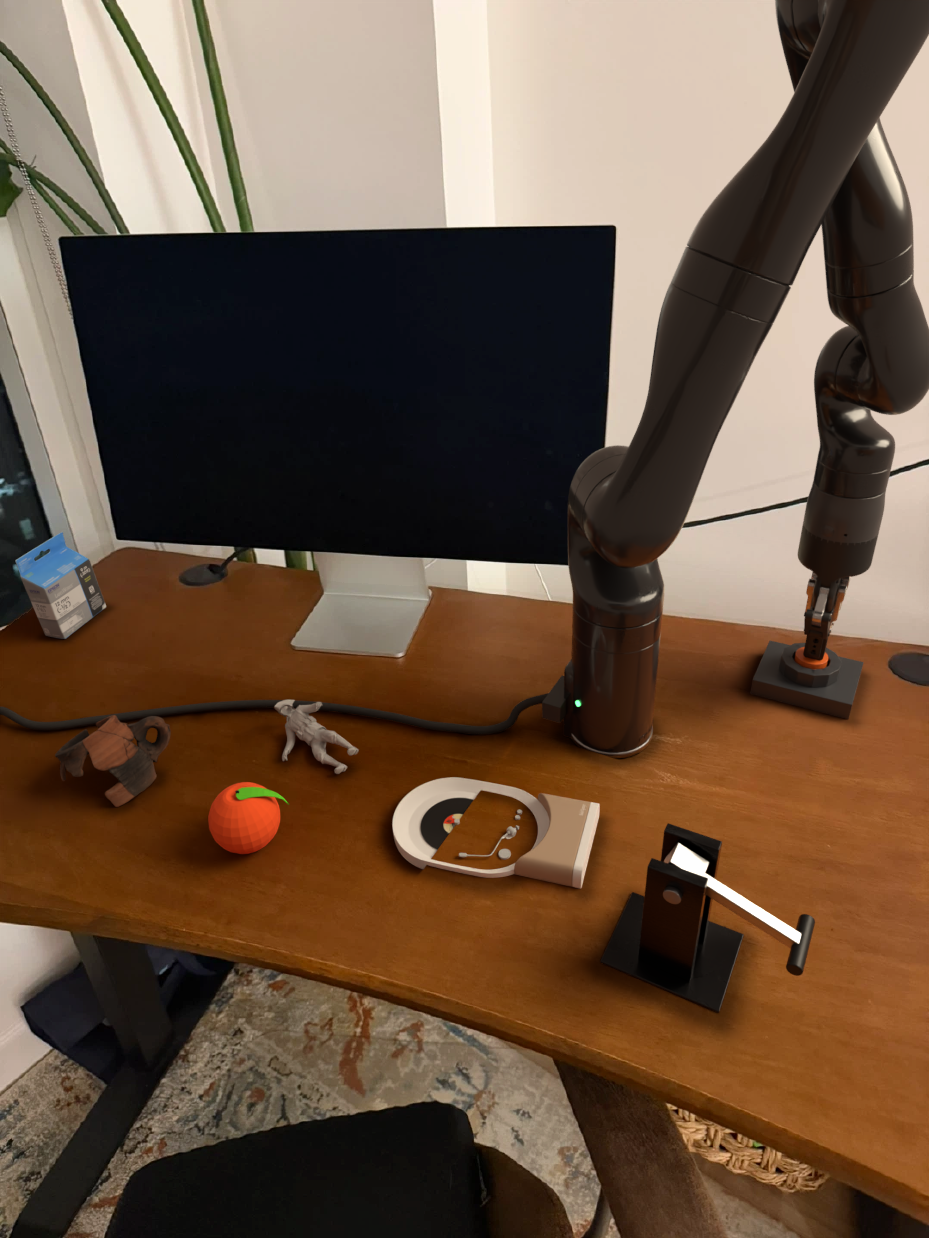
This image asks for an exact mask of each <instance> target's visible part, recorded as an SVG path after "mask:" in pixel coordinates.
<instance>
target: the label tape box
mask: <svg viewBox="0 0 929 1238" xmlns="http://www.w3.org/2000/svg"><path fill="white" fill-rule="evenodd" d="M47 550H49V552H48V553H46V554H45V555H43V556H42V557H39V558H38V559H36V560H35V558H36V557H38V556H39V555H40V553H41V552H46V551H47ZM15 565H16V568H17V570H18V573H19V576H20V580H21V582H22V584H23V587H24V589H25V592H26V594H27V596H28V599H29V600H30V603H31V605H32V608H33V610H34V612H35V615H36V617H37V620H38V622H39V625H40V626H41V628H42V631H43V634H44V636H45V637H51V638H55V639H61V640H63V639H64V640H66V639H67V638H69V637H71V635H72V634H74V633H75V632H76V631H78V630H79V629H80V628H81V627H83V626H85V624H86V623H88V622H89V621H90V620H92V619H93V618H94V617H95V616H97V615H98V614H100V613H101V612H102V611H103V610H105V609H106V608H107V605H106V602H105V599H104V595H103V594H102V590H101V587H100V585H99V582H98V580H97V576H96V573H95V571H94V567H93V565H92V563H91V560H90V559H89V558H88V557H86V556H85V555H82V554H81V553H80V552H78V551H76V550H73V549H72V548H70V547H69V546H67V544H66V540H65V537H64V531H60V532H59V533H57V534H55V535H54V536H53V537H50V538H49V539H47V540H45V541H43V543H41V544H39V545H37V546H36V547H34V548H33V549H31V550H30V551H27V553H24V554H23V555H22V556H20V557H17V559H15Z"/></svg>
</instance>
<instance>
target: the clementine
mask: <svg viewBox="0 0 929 1238" xmlns="http://www.w3.org/2000/svg"><path fill="white" fill-rule="evenodd" d="M277 799H280V800H282V801H283V802H285V803H286V804H287V805H288V806H289V805H290V803H289V802H288V801H287V800H286V799H285V798H284V796H282V795H280V794H279V793H278V792H276V791H274V790H271V789H268V788H267V787H265V786H263V785H261V784H259V783H255V782H252V781H251V782H250V781H242V782H236V783H233V784H231V785H228V786H227V787H226V788H224V789H223V790H222V791H221V792H219V793H218V794H217V796H216V797H215V799H214V800H213V801H212V802H211V805H210V808H209V812H208V816H207V817H208V818H207V819H208V830H209V832H210V834H211V836H212V838H213V840H214V842H215V843H216V844H218V845H219V846H220V847H221V848H222V849H223V850H225V851H227V852H229V853H233V854H239V855H248V854H252V853H257V851H260V850H262V849H263V848H265V847H266V846H267V845H268V844H269V843H270V842H271V841H272V840H273V839H274V838H275V836H276V834H277V833H278V831H279V827H280V823H281V809H280V805H279V802H278V800H277Z"/></svg>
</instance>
